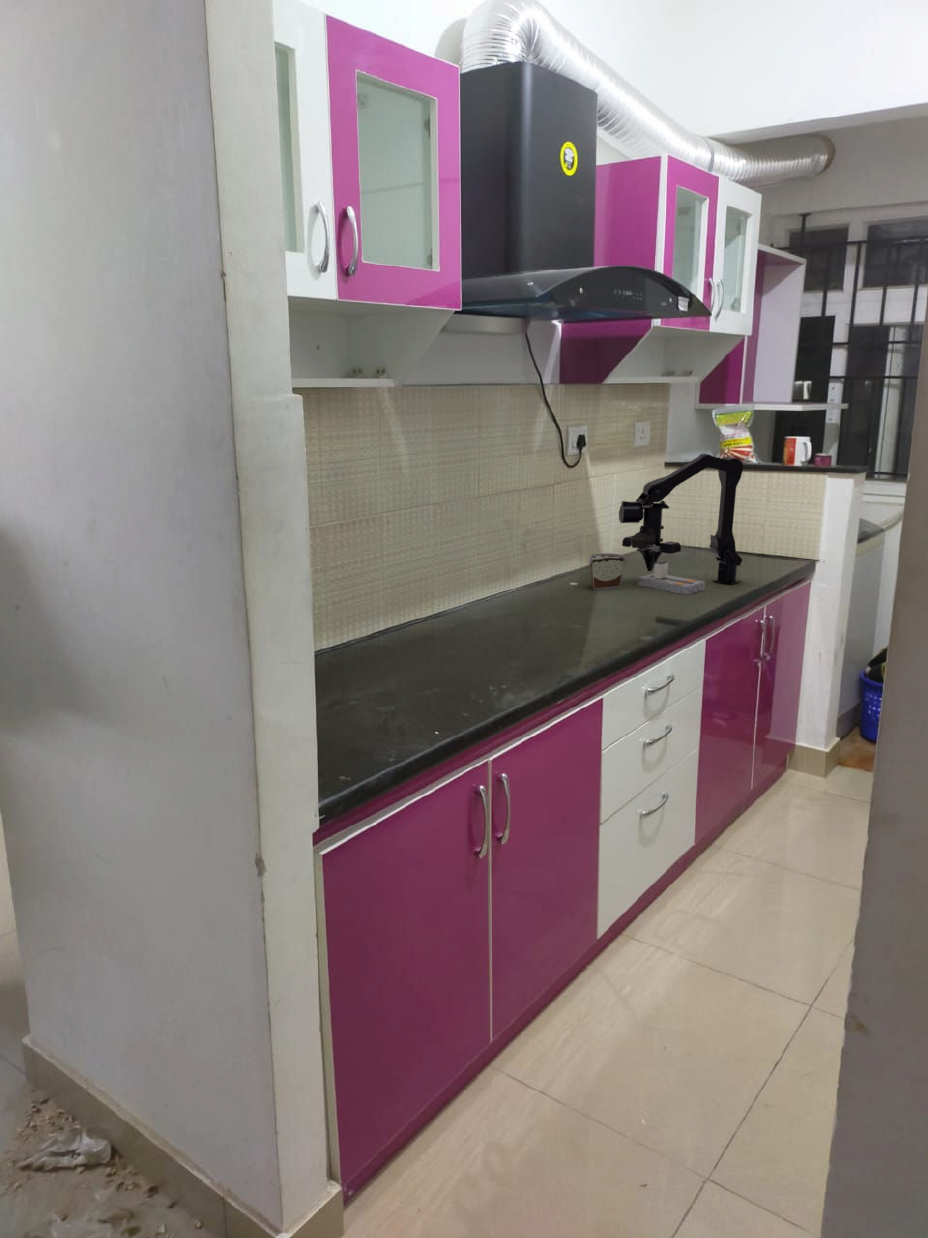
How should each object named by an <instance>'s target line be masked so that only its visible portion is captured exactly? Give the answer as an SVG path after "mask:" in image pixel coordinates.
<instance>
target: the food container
mask: <svg viewBox="0 0 928 1238" xmlns="http://www.w3.org/2000/svg"><path fill="white" fill-rule="evenodd" d="M626 562H627V559H626V556H625V555H623V554H619V553H613V552H612V553H611V552H609V553H606V552H603V553H594V554H590V555H589V558H588V564H589V565H590V578H591V579H590V581H591V589H593V590H598V589H599V590H600V589H612V588H613V589H615V588H621V585H622V579H623V578H622V577H623V571H624V565H625V563H626Z"/></svg>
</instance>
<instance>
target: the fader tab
mask: <svg viewBox="0 0 928 1238" xmlns="http://www.w3.org/2000/svg"><path fill="white" fill-rule="evenodd" d="M668 569H669V563H668V562H667V560H663V559H662V560H657V562H656V563H655V564H654V567H653V574H654V578H659V579H661V578H665V577H667V575H668V572H669V571H668Z"/></svg>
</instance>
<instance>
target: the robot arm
mask: <svg viewBox="0 0 928 1238" xmlns="http://www.w3.org/2000/svg"><path fill="white" fill-rule="evenodd" d="M708 468H710V469H715V470H717V471H718V478H719V479H718V480H719V482H720V499H719V500H720V501H719V510H718V519H717V520H718V521H717V522H718V523H717V531H716V532H715V534H714V535H713V534H711V535H710V538H709V539H710V544H709V548H710V551H711V553H712V554H713V556H715V559H716V561H717V562H718V569H717V578H715V579H713V580H712V582H713V583H714V582H715V583H720V584H725V585H733V584H736V583H740V582H742V581H741V579H737V576H738V575H737V574H738V566H741V564H742V562H743V559H742V557H741V556H740V555H739V554H738V553H737V552H736V551H737V550H736V540H735V536H734V532H733V526H734V516H735V505H736V494H737V486H738V485H739V483H740V481H741V478H742V475H743V471H744V462H742V461H741V460H740V459H739V458H736V457H731V456H725V457H723V458H721V457H717V456H712V455H711V454H708V453H700V454H699V455H698V456H697V457H695V458H693V459H692V460H691V461H688V462H687V463H686V464H684V465H682V466H681V467H679V468H678V469H675V471H672V472H671V473H669V474H668V475H666V476H663V477H660V478H656V479H653V480H651V481H649V482H646V484H644V486H643V488H642V492H641V493H640V494H639V496H638V498H636V500H635V501H627V500H621V505H620V507H619V511H618V520H619V523H620V524H639V523H640V522H641V521H642V520H643V521H642V525H640V527H639V531H638V532H636V533H634V534H633V535H630V536H625V537H624V538H622V541H621V542H622V543H621V546H622V547H625V548H631V547H632V549H636V551H637V552H639V553H640V554H641V555H642V558H643V561H644V563H645V567H646V569H647V572H652V571H653V570H654V564H655V563H656V562H657V561H659V558H660V556H661V555H662V554H664V553H665V554H675V553H680V552H681V551H682V545H681V544H680V542H676V541H666V542H665V541H664V538H662V530H664V528H665V526H664V525H662V523H663V521H662V520H663V510H664V509H665V510H667V509H670V506H669V505H668V504H667V503H666V501H665V500H664V499H665V498H666V497H667V496H669V495H670V493H671V492H672V491H673V490H674V489H675V488H676V487H677V486H680V485H681V484H682V483H684V482H685V481H687V480H689V479H691V478H692V477H694V476H695V475H697V474H699V473H700V472H702V471H704V470H706V469H708Z"/></svg>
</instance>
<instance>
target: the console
mask: <svg viewBox="0 0 928 1238" xmlns="http://www.w3.org/2000/svg"><path fill="white" fill-rule="evenodd" d="M637 586H639V587H640V586H641V587H645V588H651V589H655V590H659V591H664V592H666V591H667V592H670V593H671V592H672V593H676V594H681V595H687V596H688V595H691V594H695V593H698V592H702V591H704V590H705V589H706V588H705V586H706V582H705V581H702V580H699V579H698V580H697V579H692V578H687V577H680V576H676V575H669V574H667V577H665V578H661V579H659V578H654V573H651V574H647V575H641V576H639V577H638V578H637Z"/></svg>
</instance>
